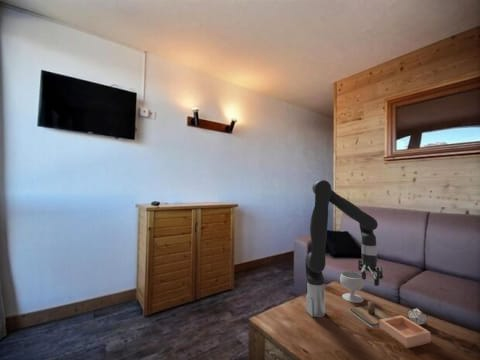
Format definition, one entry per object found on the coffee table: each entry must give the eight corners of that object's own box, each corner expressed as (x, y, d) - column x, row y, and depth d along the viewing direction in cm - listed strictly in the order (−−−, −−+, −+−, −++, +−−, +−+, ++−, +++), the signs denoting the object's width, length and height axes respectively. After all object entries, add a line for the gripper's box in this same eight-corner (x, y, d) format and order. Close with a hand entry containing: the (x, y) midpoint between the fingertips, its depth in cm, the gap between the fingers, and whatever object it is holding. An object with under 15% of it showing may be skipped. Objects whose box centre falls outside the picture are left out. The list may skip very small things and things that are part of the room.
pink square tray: (406, 348, 98) (406, 337, 98) (379, 328, 112) (379, 319, 112) (431, 342, 102) (430, 332, 102) (401, 324, 115) (401, 315, 115)
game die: (422, 334, 113) (435, 324, 107) (404, 326, 115) (416, 316, 109) (417, 316, 120) (429, 307, 115) (400, 309, 122) (411, 300, 116)
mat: (371, 328, 112) (371, 327, 112) (347, 310, 129) (347, 309, 129) (398, 322, 117) (398, 322, 117) (371, 306, 133) (371, 305, 133)
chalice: (346, 291, 152) (345, 269, 152) (368, 299, 141) (368, 275, 142) (336, 298, 143) (335, 274, 143) (359, 306, 132) (358, 281, 133)
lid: (371, 326, 114) (370, 312, 114) (350, 310, 128) (349, 298, 128) (395, 321, 117) (394, 307, 117) (371, 306, 132) (371, 294, 132)
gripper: (353, 249, 130) (354, 278, 130) (374, 257, 116) (375, 288, 116) (364, 248, 132) (365, 276, 132) (385, 255, 118) (387, 287, 118)
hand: (370, 282), depth 124 cm, fingers open, 8 cm apart
